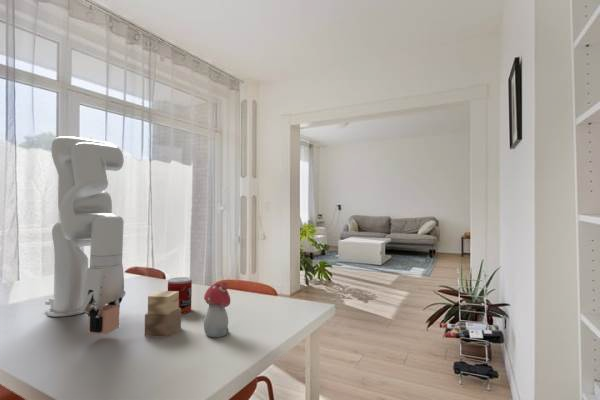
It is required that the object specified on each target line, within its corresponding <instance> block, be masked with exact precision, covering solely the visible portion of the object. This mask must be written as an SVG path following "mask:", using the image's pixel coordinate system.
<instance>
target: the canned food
mask: <svg viewBox="0 0 600 400" xmlns="http://www.w3.org/2000/svg"><path fill="white" fill-rule="evenodd" d="M192 285H193V280H192V278H191V277H188V276H187V277H186V276H180V277H178V276H177V277H172V278H170V279H168V280H167V291H179V307H178V308H181V315H184V314H187V312H188V313H189V312H190V311H191V309H192V291H193V290H192V289H193V287H192Z"/></svg>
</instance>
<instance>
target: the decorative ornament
mask: <svg viewBox="0 0 600 400" xmlns="http://www.w3.org/2000/svg"><path fill="white" fill-rule="evenodd" d="M229 288H230V287H229V284H228V282H226V281H223V282H220V284H219V283H215V284H212V285H211V286H209V287H208V289H206V291H205V293H204V296H203V299H204V301H205V303H206V304H207V305H208V308H207V310H206V312H205V314H204V317H203V318H204V319H203V329H204V333H205V335H206V336H208V337H209V338H220V337H224V336H227V335H228V334H229V327H228V325H229V316H228V313H227V312H228V311H227V310H226V307H229V306H230V304H231V296H230V293H229V292H228V289H229Z"/></svg>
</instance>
